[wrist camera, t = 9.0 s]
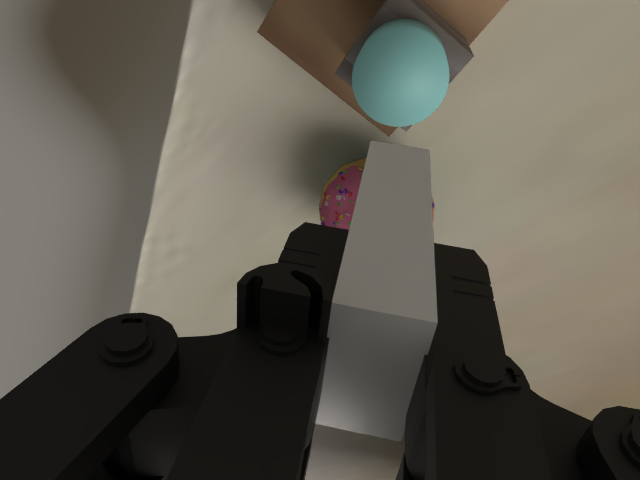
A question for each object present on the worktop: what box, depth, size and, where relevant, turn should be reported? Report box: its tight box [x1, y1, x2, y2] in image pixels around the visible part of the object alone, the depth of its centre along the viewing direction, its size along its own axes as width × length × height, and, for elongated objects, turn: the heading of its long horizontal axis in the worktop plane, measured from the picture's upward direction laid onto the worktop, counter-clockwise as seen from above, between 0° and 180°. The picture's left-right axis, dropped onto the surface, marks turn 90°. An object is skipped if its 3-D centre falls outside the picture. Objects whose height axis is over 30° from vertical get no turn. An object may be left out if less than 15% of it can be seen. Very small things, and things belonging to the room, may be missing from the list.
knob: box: [352, 19, 449, 127], centre depth 26 cm, size 5×5×8 cm
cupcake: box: [319, 158, 434, 230], centre depth 35 cm, size 9×8×12 cm
